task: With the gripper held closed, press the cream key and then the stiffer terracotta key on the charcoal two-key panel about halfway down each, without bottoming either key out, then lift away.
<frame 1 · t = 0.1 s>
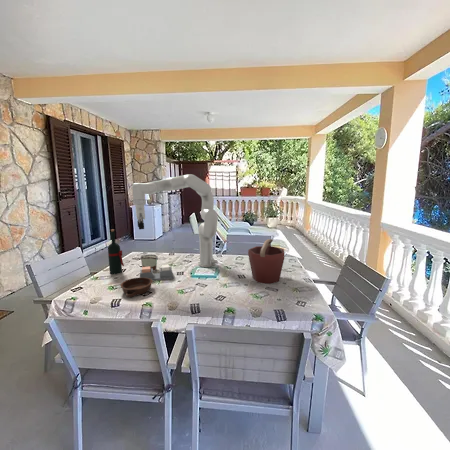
hand: (140, 227, 171), 31 cm above the table, tool pointing down, fingers open, 9 cm apart
key cream: (165, 268, 168), point 6 cm above the table, slide at 0.0 cm
wine bottle: (117, 272, 177), on the table
key panel: (156, 277, 168), on the table
bucket: (267, 279, 164), on the table
food container: (151, 269, 184), on the table
dish: (137, 291, 148), on the table
key terracotta: (146, 270, 165), point 6 cm above the table, slide at 0.0 cm
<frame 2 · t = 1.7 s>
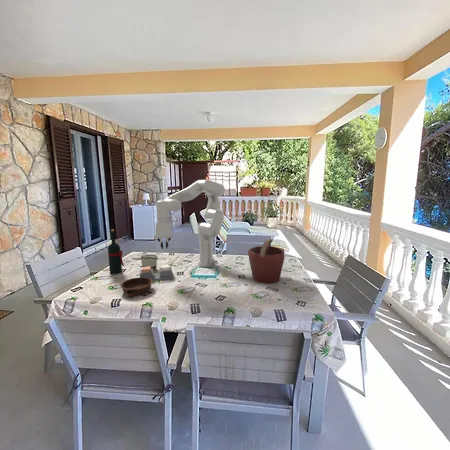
hand: (164, 248, 166), 19 cm above the table, tool pointing down, fingers closed
nothing on the table moved.
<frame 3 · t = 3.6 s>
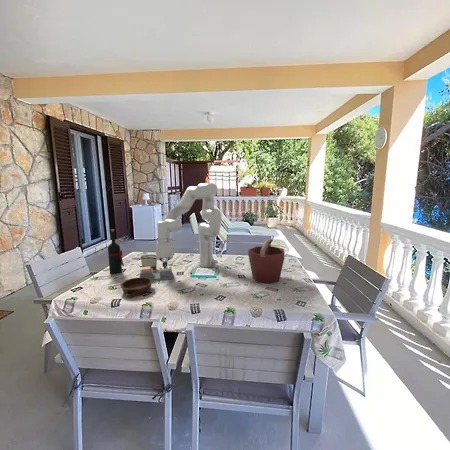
hand: (165, 267, 168), 6 cm above the table, tool pointing down, fingers closed
key cream: (165, 269, 168), point 4 cm above the table, slide at 1.0 cm, touching gripper
everything else where it was.
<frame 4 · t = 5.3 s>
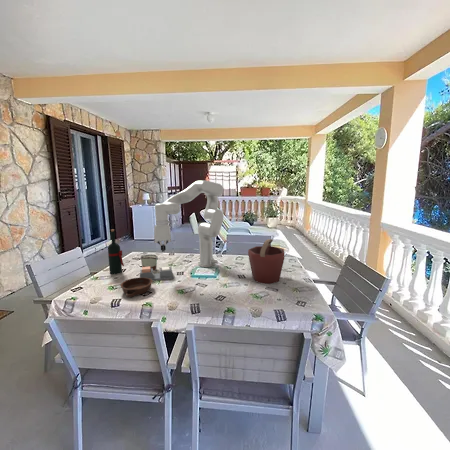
hand: (163, 251, 166), 17 cm above the table, tool pointing down, fingers closed
key cream: (165, 270, 169), point 4 cm above the table, slide at 1.4 cm
everything else where it was.
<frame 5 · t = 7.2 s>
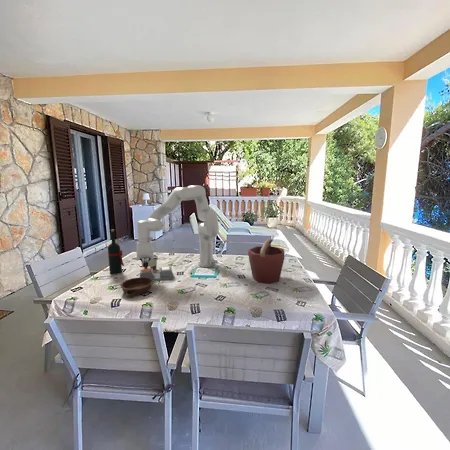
hand: (145, 267, 165), 7 cm above the table, tool pointing down, fingers closed
key terracotta: (146, 270, 165), point 5 cm above the table, slide at 0.0 cm, touching gripper
everything else where it was.
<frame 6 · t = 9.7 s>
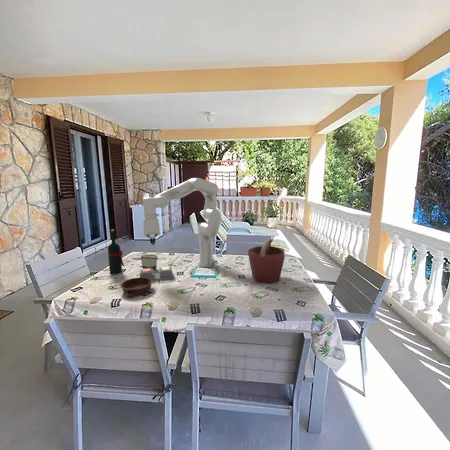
hand: (153, 244, 168), 21 cm above the table, tool pointing down, fingers closed
key terracotta: (146, 272, 165), point 4 cm above the table, slide at 1.3 cm
everything else where it was.
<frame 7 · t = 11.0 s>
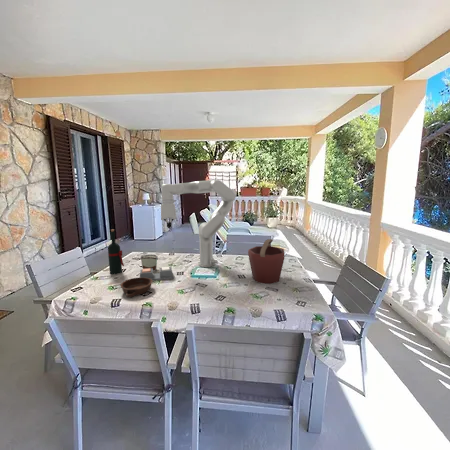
hand: (169, 227, 182), 29 cm above the table, tool pointing down, fingers closed
nothing on the table moved.
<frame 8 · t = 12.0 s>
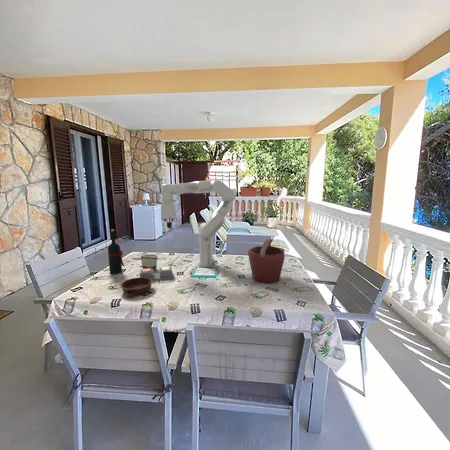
hand: (169, 227, 182), 29 cm above the table, tool pointing down, fingers closed
nothing on the table moved.
at the end: key cream slide at 1.4 cm; key terracotta slide at 1.3 cm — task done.
